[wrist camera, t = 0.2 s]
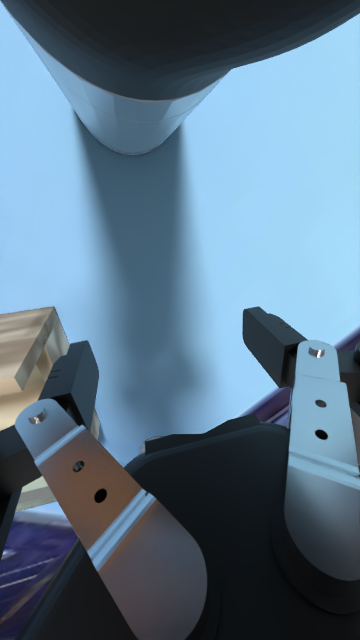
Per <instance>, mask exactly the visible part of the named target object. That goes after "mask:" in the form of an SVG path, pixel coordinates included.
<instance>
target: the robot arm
mask: <svg viewBox="0 0 360 640" xmlns="http://www.w3.org/2000/svg"><path fill="white" fill-rule="evenodd" d="M0 1H1V3H2V4H3V6H4V7H5V9H6V10H7V12H8V13H9V15H10V16H11V17H12V19H13V20H14V22H15V23H16V25H17V26H18V28H19V29H20V31H21V32H22V33H23V35H24V36H25V38H26V39H27V41H28V42H29V43H30V45H31V46H32V48H33V49H34V51H35V52H36V54H37V55H38V57H39V58H40V60H41V61H42V63H43V64H44V66H45V67H46V69H47V70H48V72H49V73H50V75H51V76H52V77H53V79H54V80H55V82H56V83H57V85H58V86H59V88H60V89H61V91H62V92H63V94H64V95H65V97H66V98H67V100H68V101H69V103H70V104H71V106H72V107H73V109H74V110H75V112H76V113H77V115H78V116H79V118H80V119H81V121H82V122H83V124H84V125H85V126H86V128H87V129H88V130H89V131H90V133H91V134H92V135H93V136H94V137H95V138H96V139H97V140H98V141H99V142H101V143H102V144H103V145H104V146H106V147H108V148H110V149H111V150H113V151H115V152H118V153H122V154H125V155H140V154H145V153H148V152H150V151H152V150H154V149H156V148H157V147H158V146H160V145H161V143H163V142H164V141H165V140H166V139H167V138H168V137H169V136H170V135H171V134H172V133H173V131H174V130H175V129H176V128H177V127H178V126H179V125H180V124H181V123H182V122H183V121H184V120H185V119H186V117H187V116H188V115H189V114H190V113H191V112H192V111H193V110H194V109H195V108H196V107H197V106H198V104H199V103H200V102H201V101H202V100H203V99H204V98H205V97H206V96H207V95H208V94H209V93H210V92H211V90H212V89H213V88H214V87H215V86H216V85H217V84H218V83H219V82H220V81H221V79H222V78H223V77H224V76H225V75H226V74H227V73H228V72H229V71H230V70H231V69H233V68H236V67H240V66H244V65H247V64H251V63H254V62H258V61H262V60H265V59H268V58H271V57H274V56H277V55H280V54H282V53H285V52H288V51H290V50H293V49H295V48H298V47H300V46H302V45H304V44H306V43H308V42H311V41H313V40H315V39H317V38H319V37H320V36H322V35H324V34H326V33H328V32H329V31H331V30H333V29H335V28H337V27H338V26H340V25H342V24H343V23H345V22H346V21H348V20H350V19H351V18H353V17H354V16H356V15H358V14H359V13H360V0H0ZM243 340H244V343H245V345H246V346H247V348H248V349H249V350H250V352H251V353H252V354H253V355H254V357H255V358H256V359H257V360H258V362H259V363H260V364H261V365H262V367H263V368H264V369H265V370H266V372H267V373H268V374H269V376H270V377H271V378H272V379H273V381H274V382H275V383H276V384H277V386H278V387H279V388H283V387H287V386H290V387H291V388H292V389H291V396H290V405H289V414H288V424H287V427H284V426H281V425H278V424H274V423H268V422H259V420H258V418H257V417H256V415H255V413H254V414H251V415H247V416H243V417H239V418H235V419H231V420H228V421H226V422H224V423H222V424H221V425H219V426H217V427H215V428H213V429H211V430H210V431H208V432H206V433H203V434H172V435H168V436H165V437H161V438H157V439H153V440H149V441H145V452H143V453H141V454H140V455H138V456H137V457H135V458H134V459H133V460H132V461H130V462H129V463H128V464H127V465H126V466H125V467H124V468H123V467H122V466H121V465H120V464H119V463H118V462H117V461H116V460H115V459H114V458H113V456H112V455H111V454H110V453H109V452H108V451H107V450H106V449H105V448H104V447H103V446H102V445H101V444H100V443H99V442H98V440H97V439H96V438H95V437H94V436H93V435H92V434H91V433H90V432H91V425H92V419H93V412H94V406H95V399H96V393H97V386H98V380H99V370H98V366H97V363H96V360H95V357H94V355H93V352H92V349H91V347H90V344H89V342H88V341H87V340H86V341H81V342H76V343H71V344H70V346H69V349H68V352H67V354H66V355H63V356H61V357H60V358H59V359H58V360H57V361H56V362H55V363H54V364H53V366H52V369H51V371H50V373H49V375H48V379H47V380H46V382H45V385H44V387H43V389H42V391H41V394H40V396H39V398H38V401H37V402H35V403H33V404H31V405H29V406H28V407H26V408H25V409H24V410H23V411H22V412H21V413H20V414H19V415H18V417H17V419H16V421H15V424H14V425H12V426H10V427H8V428H6V429H3V430H1V431H0V561H1V557H2V554H3V551H4V547H5V544H6V541H7V537H8V534H9V531H10V528H11V524H12V521H13V518H14V514H15V511H16V508H17V504H18V501H19V498H20V494H21V491H22V488H23V487H24V486H26V485H27V484H29V483H31V482H33V481H35V480H36V479H38V478H40V477H42V476H43V478H44V479H45V481H46V483H47V484H48V486H49V488H50V489H51V491H52V493H53V495H54V496H55V498H56V500H57V501H58V503H59V505H60V507H61V508H62V510H63V512H64V513H65V515H66V517H67V518H68V520H69V522H70V524H71V525H72V527H73V529H74V530H75V532H76V534H77V536H78V537H79V538H78V539H77V541H76V543H75V544H74V546H73V547H72V549H71V551H70V552H69V554H68V555H67V557H66V559H65V560H64V562H63V563H62V565H61V567H60V568H59V570H58V571H57V573H56V575H55V576H54V578H53V579H52V581H51V583H50V584H49V586H48V587H47V589H46V591H45V592H44V594H43V595H42V597H41V599H40V600H39V602H38V603H37V605H36V607H35V608H34V610H33V611H32V613H31V615H30V616H29V618H28V619H27V621H26V623H25V624H24V626H23V627H22V629H21V631H20V632H19V634H18V635H17V637H16V639H15V640H360V466H359V465H358V462H357V455H356V448H355V441H354V434H353V428H352V421H351V414H350V407H351V408H352V409H353V410H354V411H355V412H356V414H357V415H358V416H359V417H360V341H359V342H358V343H357V345H356V349H355V351H336V350H335V348H334V347H332V346H331V345H329V344H327V343H325V342H322V341H317V340H307V339H306V338H305V337H303V336H302V335H301V334H300V333H298V332H297V331H296V330H295V329H293V328H291V326H290V325H288V324H287V323H286V322H285V321H283V320H282V319H281V318H280V317H278V316H275V315H273V314H267V313H266V312H265V311H264V310H263V309H261V308H260V307H253V308H248V309H244V311H243Z"/></svg>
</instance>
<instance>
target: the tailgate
mask: <svg viewBox="0 0 360 640" xmlns="http://www.w3.org/2000/svg"><path fill="white" fill-rule="evenodd" d="M56 501H57V500H56V498H55V496H54V495H53V493H52V491H51V489H50V488H49V486H48V484H47V483H46V481H45V479H44V478H43V476H42V477H40V478H38V479H36V480H35V481H33V482H31V483H29V484H27V485H26V486H24V487H23V488H22V491H21V494H20V498H19V501H18V504H17V508H16V511H15V512H17V511H21V510H25V509H29V508H33V507H37V506H41V505H44V504H48V503H52V502H56Z"/></svg>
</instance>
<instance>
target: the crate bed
mask: <svg viewBox="0 0 360 640" xmlns="http://www.w3.org/2000/svg"><path fill="white" fill-rule="evenodd" d="M69 346H70V345H69V342H68V340H67V337H66V335H65V332H64V330H63V327H62V325H61V322H60V320H59V317H58V315H57V312H56V309H55V307H54V306H53V307H47V308H40V309H34V310H27V311H21V312H14V313H8V314H1V315H0V431H1V430H3V429H6V428H8V427H10V426H12V425H14V424H15V421H16V419H17V417H18V415H19V414H20V413H21V412H22V411H23V410H24V409H25V408H26V407H28V406H29V405H31V404H33V403H35V402H37V401H38V398H39V396H40V394H41V391H42V389H43V387H44V385H45V382H46V380H47V379H48V375H49V373H50V371H51V369H52V366H53V364H54V363H55V362H56V361H57V360H58V359H59V358H60V357H61V356H63V355H66V354H67V352H68V349H69ZM99 428H100V421H99V419H98V416H97V413H96V411H95V408H94V412H93V419H92V425H91V432H90V433H91V434H92V435H93V436H94V437H95V438H96V439H97V440H98V437H99Z"/></svg>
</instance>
